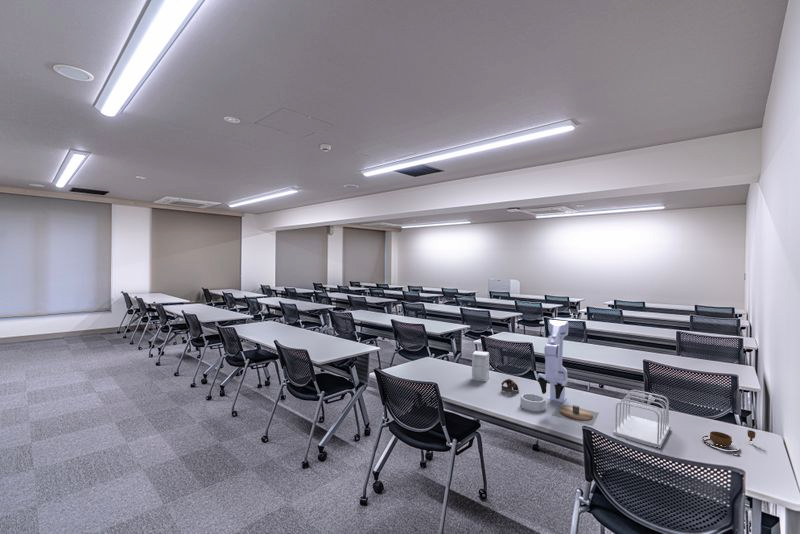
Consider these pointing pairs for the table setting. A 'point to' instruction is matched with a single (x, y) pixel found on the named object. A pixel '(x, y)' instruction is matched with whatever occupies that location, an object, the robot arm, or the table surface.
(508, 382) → the brown dome
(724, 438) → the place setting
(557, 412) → the grey square pad
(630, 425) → the file sorter
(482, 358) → the supplement box
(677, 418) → the table surface
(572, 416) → the walnut lid
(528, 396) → the grey bowl
